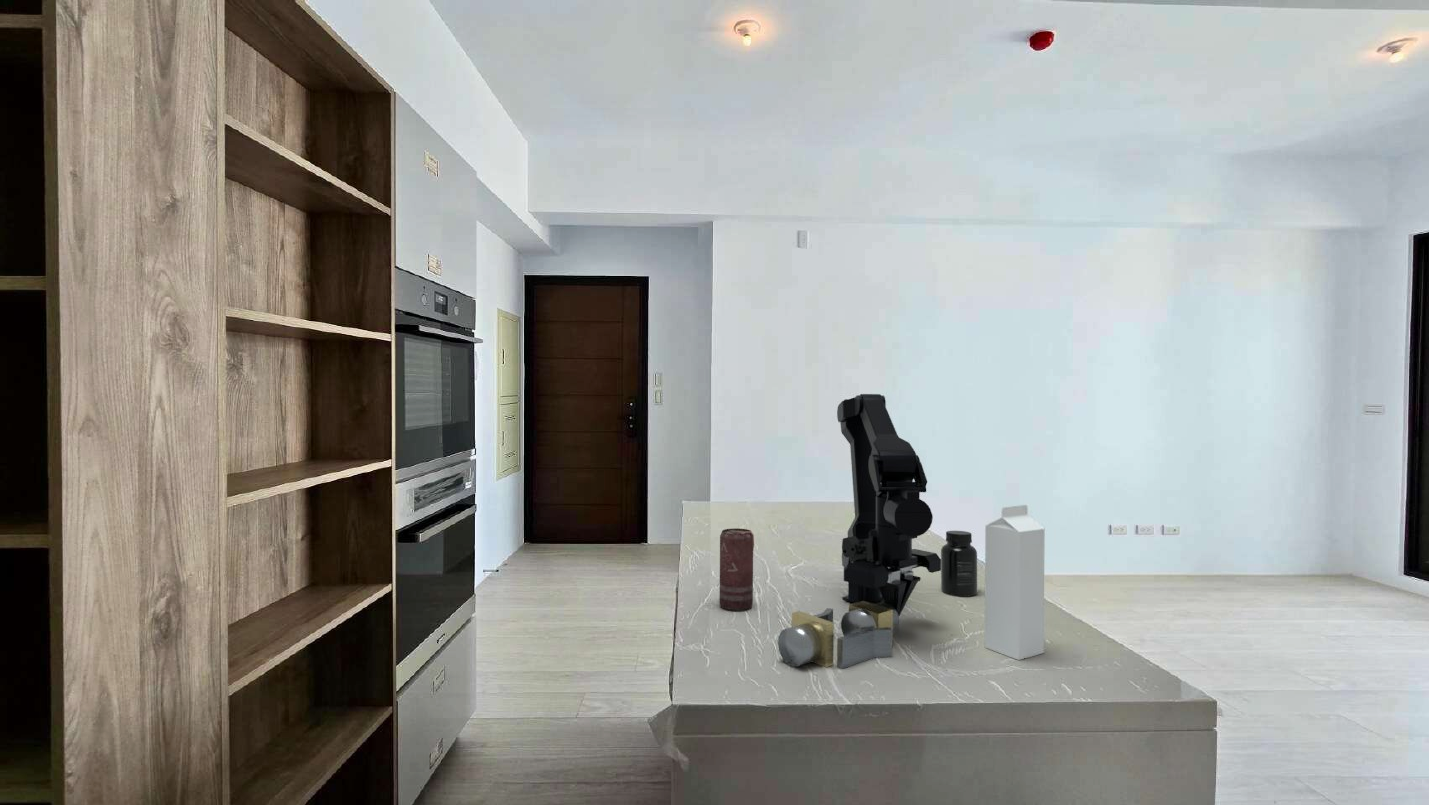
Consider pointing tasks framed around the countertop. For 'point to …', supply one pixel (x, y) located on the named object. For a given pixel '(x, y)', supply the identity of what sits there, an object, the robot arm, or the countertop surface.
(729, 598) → the can
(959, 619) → the countertop surface
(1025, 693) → the countertop surface
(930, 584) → the countertop surface
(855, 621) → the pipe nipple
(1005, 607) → the milk
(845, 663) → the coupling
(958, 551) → the supplement bottle
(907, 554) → the robot arm
